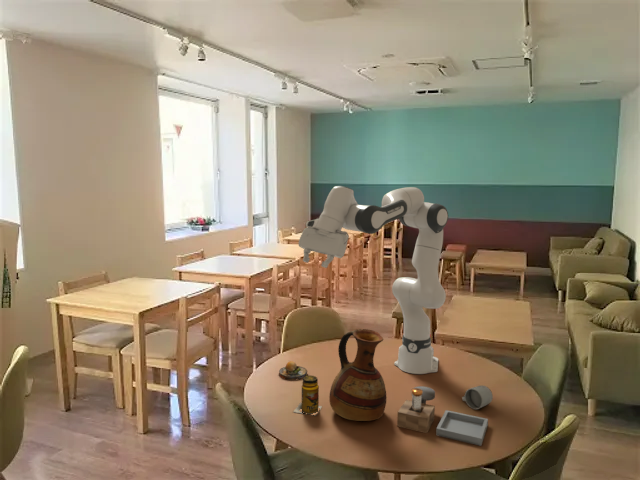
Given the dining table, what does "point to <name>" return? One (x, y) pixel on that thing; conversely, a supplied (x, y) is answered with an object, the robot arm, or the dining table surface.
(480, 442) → the tray
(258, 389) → the dining table surface
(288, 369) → the burger
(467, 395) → the ceramic mug
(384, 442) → the dining table surface
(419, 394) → the pin
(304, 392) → the condiment
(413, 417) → the block
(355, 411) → the ceramic pitcher
